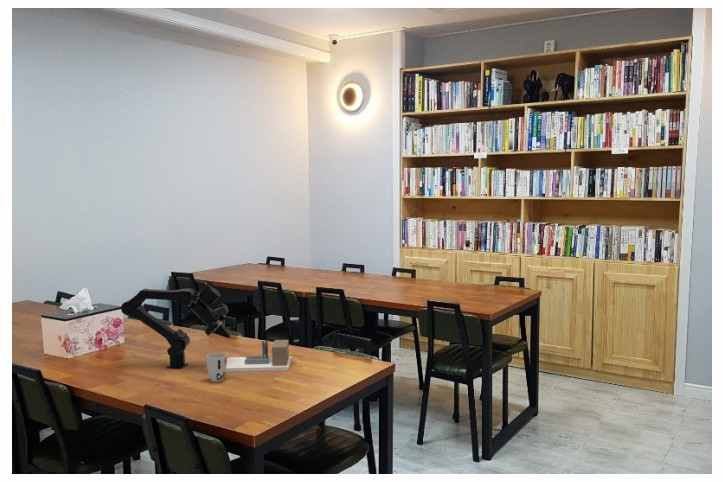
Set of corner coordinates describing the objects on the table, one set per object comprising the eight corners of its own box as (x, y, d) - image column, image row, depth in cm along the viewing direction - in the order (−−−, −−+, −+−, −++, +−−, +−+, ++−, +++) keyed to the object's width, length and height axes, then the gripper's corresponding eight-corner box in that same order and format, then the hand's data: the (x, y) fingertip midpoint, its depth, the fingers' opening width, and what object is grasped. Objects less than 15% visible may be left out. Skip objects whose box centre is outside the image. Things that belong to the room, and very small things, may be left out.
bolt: (261, 362, 261) (261, 342, 260) (262, 360, 264) (261, 340, 263) (284, 362, 262) (284, 341, 261) (285, 360, 265) (285, 339, 264)
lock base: (216, 371, 254) (216, 349, 253) (223, 360, 270) (223, 339, 269) (288, 370, 255) (288, 348, 254) (291, 359, 271) (291, 338, 270)
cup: (217, 384, 238) (217, 359, 237) (202, 381, 242) (201, 356, 241) (231, 378, 245) (231, 354, 244) (216, 375, 249) (215, 351, 248)
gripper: (212, 303, 250) (239, 330, 252) (221, 294, 269) (246, 319, 270) (193, 322, 251) (220, 348, 252) (203, 312, 269) (228, 336, 271)
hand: (229, 337), depth 261 cm, fingers closed
